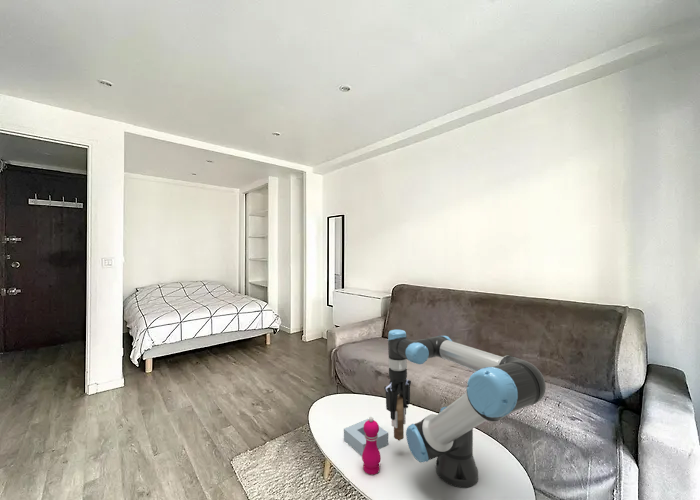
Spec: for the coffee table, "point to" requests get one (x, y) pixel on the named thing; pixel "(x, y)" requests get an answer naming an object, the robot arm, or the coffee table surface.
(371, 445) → the pepper mill
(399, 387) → the robot arm
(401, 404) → the dowel
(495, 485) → the coffee table surface
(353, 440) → the bore block
